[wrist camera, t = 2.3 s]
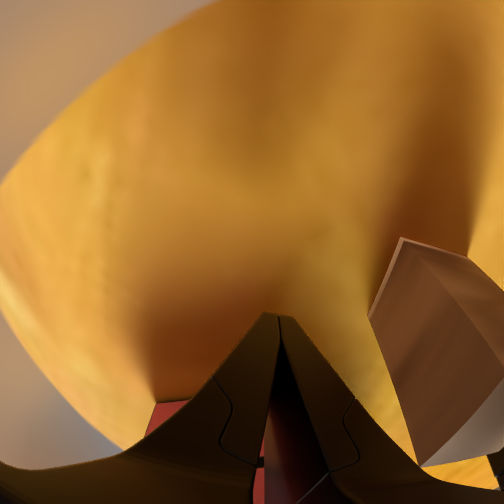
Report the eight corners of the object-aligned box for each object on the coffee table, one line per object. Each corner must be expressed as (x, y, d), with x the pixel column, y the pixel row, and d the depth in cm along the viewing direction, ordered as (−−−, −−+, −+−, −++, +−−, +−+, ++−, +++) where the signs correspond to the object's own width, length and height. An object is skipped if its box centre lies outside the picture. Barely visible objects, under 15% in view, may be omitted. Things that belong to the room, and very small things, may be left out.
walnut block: (467, 256, 12) (570, 368, 5) (432, 326, 14) (498, 451, 6) (400, 236, 12) (507, 372, 5) (367, 315, 14) (419, 467, 6)
